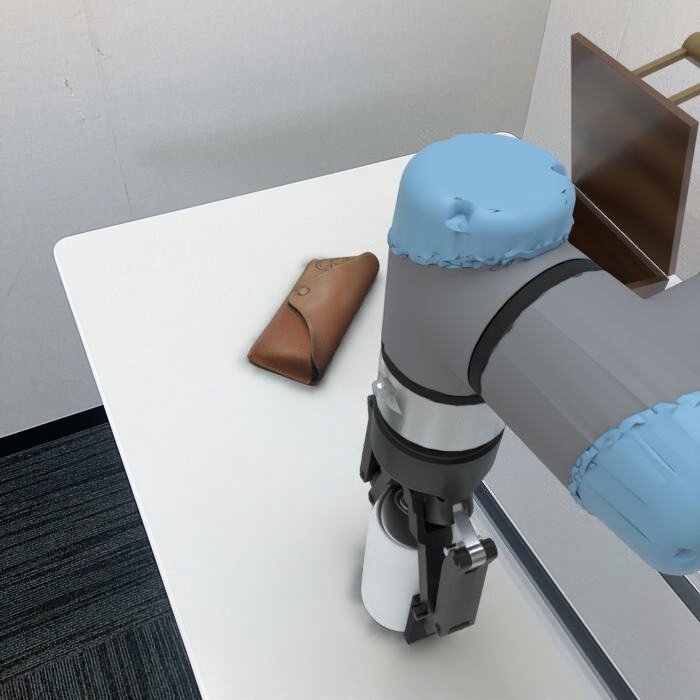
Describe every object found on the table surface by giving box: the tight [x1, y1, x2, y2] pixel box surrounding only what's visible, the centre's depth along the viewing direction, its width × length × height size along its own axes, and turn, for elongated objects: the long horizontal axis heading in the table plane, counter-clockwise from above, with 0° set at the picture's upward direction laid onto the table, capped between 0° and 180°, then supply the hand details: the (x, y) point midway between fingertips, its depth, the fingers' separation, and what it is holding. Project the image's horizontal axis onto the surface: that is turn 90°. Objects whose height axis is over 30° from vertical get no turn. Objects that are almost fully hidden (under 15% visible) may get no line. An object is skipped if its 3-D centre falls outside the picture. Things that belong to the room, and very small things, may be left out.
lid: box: [570, 31, 700, 278], centre depth 70 cm, size 18×17×10 cm
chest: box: [567, 186, 670, 299], centre depth 78 cm, size 17×17×10 cm
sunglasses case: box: [246, 251, 381, 385], centre depth 79 cm, size 18×7×7 cm
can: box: [360, 486, 420, 633], centre depth 55 cm, size 6×6×12 cm
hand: (402, 590), depth 59 cm, fingers closed on can, 6 cm apart
